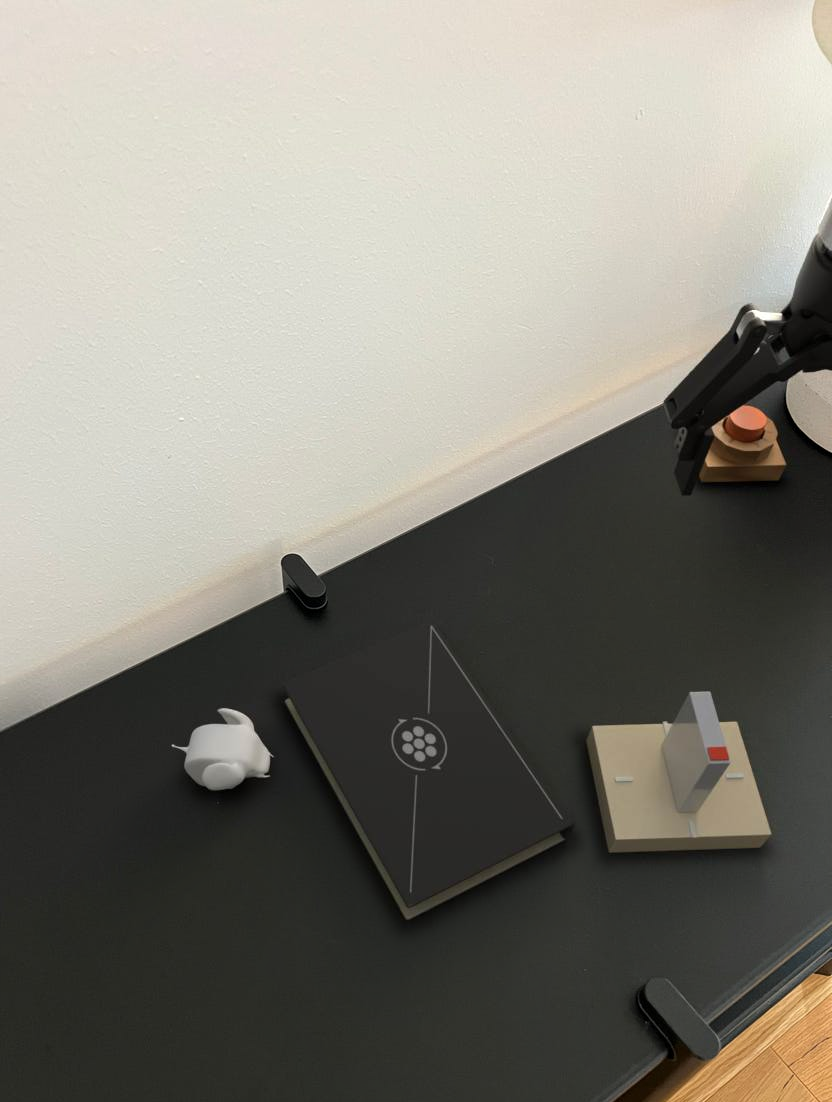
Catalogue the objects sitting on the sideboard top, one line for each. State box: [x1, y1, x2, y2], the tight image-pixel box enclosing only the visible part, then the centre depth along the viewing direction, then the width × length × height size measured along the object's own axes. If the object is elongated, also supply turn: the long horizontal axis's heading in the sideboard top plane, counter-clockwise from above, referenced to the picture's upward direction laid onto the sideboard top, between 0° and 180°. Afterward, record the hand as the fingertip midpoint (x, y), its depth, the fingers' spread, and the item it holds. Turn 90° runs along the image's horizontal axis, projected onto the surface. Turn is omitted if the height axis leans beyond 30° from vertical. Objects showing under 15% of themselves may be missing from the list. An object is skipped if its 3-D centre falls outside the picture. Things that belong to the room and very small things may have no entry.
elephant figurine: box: [171, 707, 275, 791], centre depth 78 cm, size 7×8×6 cm
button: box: [725, 404, 767, 443], centre depth 98 cm, size 4×4×2 cm
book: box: [282, 620, 576, 922], centre depth 80 cm, size 22×15×3 cm
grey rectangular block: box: [662, 691, 731, 812], centre depth 74 cm, size 6×2×8 cm, turn 2°
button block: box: [698, 415, 787, 483], centre depth 100 cm, size 8×7×4 cm
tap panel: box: [585, 721, 772, 854], centre depth 78 cm, size 12×10×3 cm
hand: (763, 480), depth 81 cm, fingers open, 13 cm apart
